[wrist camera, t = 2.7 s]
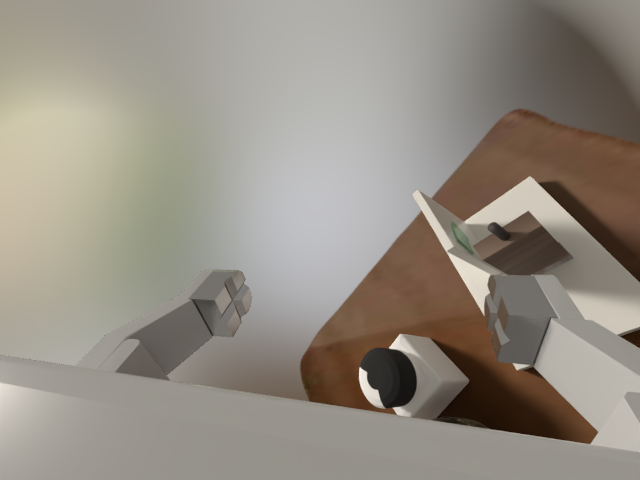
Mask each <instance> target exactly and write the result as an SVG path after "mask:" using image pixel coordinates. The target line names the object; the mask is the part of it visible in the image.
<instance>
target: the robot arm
mask: <svg viewBox="0 0 640 480" xmlns="http://www.w3.org/2000/svg"><path fill="white" fill-rule="evenodd" d="M244 282H245V277H244V274H243V272H241V271H239V270H209V269H208V270H207V269H205V270H203V271H200V273H199V274H198V275H197V276H196V277H195V278H194V279H193V280H192V282H191V283H190V284H189V285H188V286H187V287H186V288H185V289H184V290H183V292H182V293H181V294H180V295H179V296H178V297H177V298H176V299H171V300H169V301H167V302H166V303H164V304H162V305H160V306H158V307H156V308H155V309H153V310H151V311H149V312H147V313H145V314H144V315H142V316H140V317H138V318H136V319H135V320H133V321H131V322H129V323H127V324H125V325H123V326H122V327H120V328H118V329H116V330H114V331H112V332H111V333H109V334H107V335H105V336H104V337H103V338H102V339H101V340H100V341H99V342H98V343H97V344H96V345H95V346H94V347H93V348H92V349H91V350H90V351H89V352H88V353H87V354H86V355H85V356H84V357H83V358H82V359H81V360H80V361H79V362H78V363H77V364H76V365H75V366H70V365H64V364H57V363H50V362H44V361H37V360H31V359H24V358H18V357H11V356H4V355H0V480H640V348H638V347H637V346H635V345H633V344H632V343H630V342H628V341H626V340H625V339H623V338H621V337H620V336H618V335H616V334H615V333H613V332H611V331H610V330H608V329H606V328H605V327H603V326H601V325H599V324H598V323H596V322H594V321H593V320H585V319H584V317H583V316H582V314H581V313H580V311H579V310H578V308H577V307H576V305H575V304H574V302H573V301H572V299H571V298H570V296H569V295H568V294H567V292H566V291H565V289H564V288H563V286H562V285H561V283H560V282H559V280H558V279H557V277H556V276H554V275H490V277H489V279H488V284H487V286H488V289H489V292H490V293H489V294H488V295H487V296H485V302H484V315H485V321H486V325H487V328H488V329H489V330H490V331H491V332H493V335H492V340H491V342H492V345H493V348H494V351H495V355H496V358H497V361H498V362H507V363H515V364H524V365H533V366H534V368H535V369H536V370H537V371H538V372H539V373H540V374H541V375H542V376H543V377H544V378H545V379H546V380H547V381H548V382H549V383H550V384H551V385H552V386H553V387H554V388H555V389H556V390H557V391H558V392H559V393H560V394H561V395H562V396H563V397H564V398H565V399H566V400H567V401H568V402H569V403H570V404H571V405H572V406H573V407H574V408H575V409H576V410H577V411H578V412H579V413H580V414H581V415H582V416H583V417H584V418H585V419H586V420H587V421H588V422H589V423H590V424H591V425H592V426H593V427H594V428H595V429H596V430H597V431H598V432H599V433H598V434H597V435H596V437H595V438H594V440H593V441H592V443H591V444H585V443H578V442H571V441H565V440H558V439H552V438H545V437H538V436H532V435H525V434H519V433H512V432H505V431H499V430H492V429H486V428H479V427H472V426H466V425H459V424H453V423H446V422H439V421H433V420H426V419H420V418H413V417H406V416H400V415H393V414H387V413H380V412H373V411H367V410H360V409H354V408H347V407H340V406H334V405H327V404H321V403H314V402H307V401H301V400H293V399H287V398H281V397H275V396H268V395H261V394H255V393H248V392H241V391H235V390H228V389H221V388H215V387H209V386H202V385H196V384H189V383H183V382H176V381H170V379H169V378H168V377H167V375H168V374H169V373H170V372H171V371H173V370H174V369H175V368H176V367H177V366H179V365H180V364H181V363H182V362H183V361H185V360H186V359H187V358H188V357H189V356H190V355H192V354H193V353H194V352H195V351H196V350H198V349H199V348H200V347H201V346H203V345H204V344H205V343H206V342H207V341H208V340H210V339H211V338H212V336H222V337H233V336H234V335H235V333H236V331H237V330H238V328H239V326H240V324H241V323H242V322H241V317H242V316H243V315H245V314H246V313H247V312H248V310H249V308H250V306H251V300H252V296H251V291H250V289H249V287H247V286H246V285H245V284H244Z"/></svg>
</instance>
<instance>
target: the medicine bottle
mask: <svg viewBox="0 0 640 480" xmlns="http://www.w3.org/2000/svg"><path fill="white" fill-rule="evenodd" d="M359 380H360V385H361V388H362V391H363V393H364V395H365V396H366V398H367V399H368V400H369V402H370V403H372V404H373V405H374V406H376V407H379V408H393V409H394V410H395V412H396V413H397V415H400V416H406V417H413V418H420V419H426V420H432V419H435V418H437V417H438V416H439V415H440V413H441V412H442V411H443V410H444V409H445V408H446V407H447V406H448V405H449V404H450V403H451V401H452V400H453V399H454V398H455V397H456V396H457V395H458V394H459V393H460V392H461V391H462V389H463V388H464V387H465V386H466V385H467V384H468V383H469V379H468V378H467V377H466V376H465V375H464V374H463V373H462V372H461V371H460V369H459V368H458V367H457V366H456V365H455V364H454V363H453V362H452V361H451V360H450V359H449V358H448V357H447V356H446V355H445V354H444V353H443V352H442V350H441V349H440V348H439V347H438V346H437V345H436V344H435V343H434V342H433V341H432V340H431V339H430V338H426V337H419V336H413V335H406V334H400V335H399V336H398V337H397V339H396V340H395V341H394V342H393V344H392V345H391V346H390V348H389V349H387V348H375V349H372V350H370V351H369V352H368V353H367V354H366V355H365V356H364V358H363V360H362V362H361V365H360V370H359Z"/></svg>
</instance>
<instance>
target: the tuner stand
mask: <svg viewBox="0 0 640 480" xmlns="http://www.w3.org/2000/svg"><path fill="white" fill-rule="evenodd" d="M413 196H414V198H415V199H416V201H417V203H418V205H419V206H420V208H421V210H422V211H423V213H424V215H425V216H426V218H427V220H428V221H429V223H430V225H431V226H432V228H433V230H434V231H435V233H436V235H437V237H438V238H439V240H440V242H441V244H442V245H443V247H444V249H445V250H446V252H447V254H448V255H449V257H450V259H451V260H452V262H453V264H454V266H455V267H456V269H457V271H458V272H459V274H460V276H461V277H462V279H463V281H464V282H465V284H466V286H467V287H468V289H469V291H470V292H471V294H472V296H473V297H474V299H475V301H476V302H477V304H478V306H479V307H480V309H481V311H482V313H483V314H484V302H485V296H487V295H488V294H489V293H490V292H489V289H488V286H487V284H488V279H489V277H490V275H507V274H505V273H504V272H502V271H500V270H499V269H497V268H495V267H493V266H492V265H490V264H488V263H486V262H485V261H483V260H482V259H481V257H480V256H479V254H478V253H477V251H476V250H475V248H474V247H473V245H475V244H476V243H478V242H480V241H481V240H483V239H484V238H486V237H487V236H489V235H491V234H492V233H491V232H490V231H489V230H488V225H489V224H490V223H492V222H496V223H497V224H499V225H500V226H501V227H503V226H505V225H506V224H508V223H510V222H511V221H513V220H514V219H516V218H518V217H519V216H521V215H522V214H524V213H526V212H527V211H529V212H530V213H531V214H532V215H533V216H534V217H535V218H536V219H537V220H538V221H539V223H540V224H541V225H542V226H543V227H544V228H545V229H546V230H547V231H548V232H549V233H550V234H551V235H552V237H553V238H554V239H555V240H556V241H557V242H560V243H561V245H562V246H563V247H564V248H565V249H566V250H567V251H568V252H569V253H570V254H571V255H572V256H573V259H571V260H569V261H567V262H565V263H563V264H562V265H560V266H558V267H556V268H554V269H552V270H550V271H548V272H546V273H544V274H542V275H554V276H556V277H557V279H558V280H559V282H560V283H561V285H562V286H563V288H564V289H565V291H566V292H567V294H568V295H569V296H570V298H571V299H572V301H573V302H574V304H575V305H576V307H577V308H578V310H579V311H580V313H581V314H582V316H583V317H584V319H585V320H593V321H594V322H596V323H598V324H599V325H601V326H603V327H605V328H606V329H608V330H610V331H611V332H613V333H615V334H616V335H618V336H623V335H626V334H628V333H631V332H634V331H637V330H640V282H639V281H638V280H637V279H636V278H635V277H633V276H632V275H631V274H630V273H629V272H628V271H627V270H626V269H625V268H624V267H623V266H622V265H621V264H620V263H619V262H618V261H617V260H616V259H615V258H614V257H613V256H612V255H611V254H610V253H609V252H608V251H607V250H606V249H605V248H604V247H603V246H602V245H601V244H600V243H598V242H597V241H596V240H595V239H594V238H593V237H592V236H591V235H590V234H589V233H588V232H587V231H586V230H585V229H584V228H583V227H582V226H581V225H580V224H579V223H578V222H577V221H576V220H575V219H574V218H573V217H572V216H571V215H570V214H569V213H568V212H567V211H566V210H565V209H563V208H562V207H561V206H560V205H559V204H558V203H557V202H556V201H555V200H554V199H553V198H552V197H551V196H550V195H549V194H548V193H547V192H546V191H545V190H544V189H543V188H542V187H541V186H540V185H539V184H538V183H537V182H536V181H535V180H534V179H533V178H532V177H531V176H530V177H528V178H527V179H525V180H524V181H523V182H521V183H520V184H518V185H517V186H515V187H514V188H512V189H511V190H510V191H508V192H507V193H505V194H504V195H502V196H501V197H499V198H498V199H496V200H495V201H494V202H492V203H491V204H489V205H488V206H486V207H485V208H483V209H482V210H481V211H479V212H478V213H476V214H475V215H473V216H472V217H470V218H469V219H467V220H466V221H465V222H463V221H462V220H461V219H459V218H458V217H456V216H455V215H453V214H452V213H451V212H449V211H448V210H446V209H445V208H444V207H442V206H441V205H439V204H438V203H436V202H435V201H434V200H432V199H431V198H429V197H428V196H426V195H425V194H424V193H422V192H421V191H419V190H417V191H416V192H415V193H414V194H413ZM484 316H485V315H484ZM513 365H514V366H515V368H516V370H525V369H528V368H531V367H534V366H533V365H524V364H515V363H513Z"/></svg>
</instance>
